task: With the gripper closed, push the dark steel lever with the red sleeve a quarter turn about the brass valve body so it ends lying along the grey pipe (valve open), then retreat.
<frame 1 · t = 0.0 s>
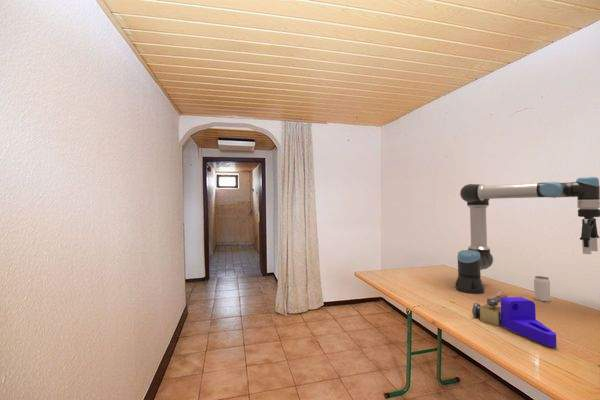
hand: (590, 252, 131), 28 cm above the table, fingers open, 13 cm apart
lever: (497, 299, 123), point 9 cm above the table, hinge at 0.0°
bracket: (532, 335, 106), on the table, touching valve
valve: (492, 321, 120), on the table
can: (542, 300, 146), on the table
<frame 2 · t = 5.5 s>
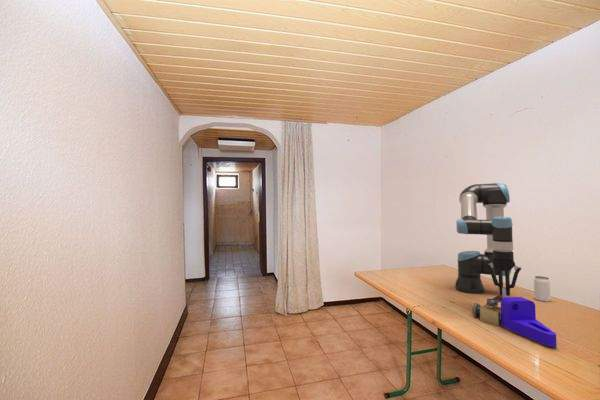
hand: (505, 302, 123), 7 cm above the table, fingers closed
lever: (497, 299, 123), point 8 cm above the table, hinge at 1.0°, touching gripper
everything else where it was.
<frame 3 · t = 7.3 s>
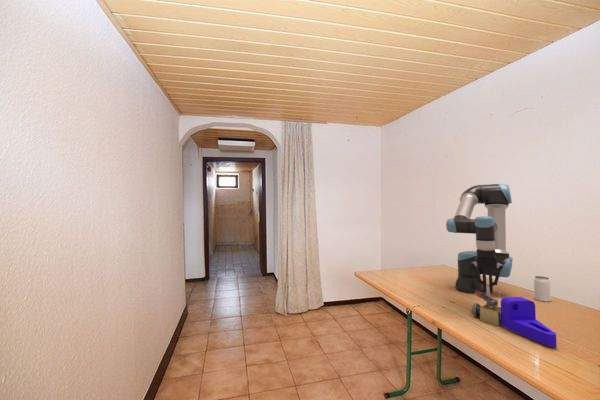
hand: (488, 299, 127), 7 cm above the table, fingers closed
lever: (485, 297, 125), point 9 cm above the table, hinge at 46.7°, touching gripper
everything else where it was.
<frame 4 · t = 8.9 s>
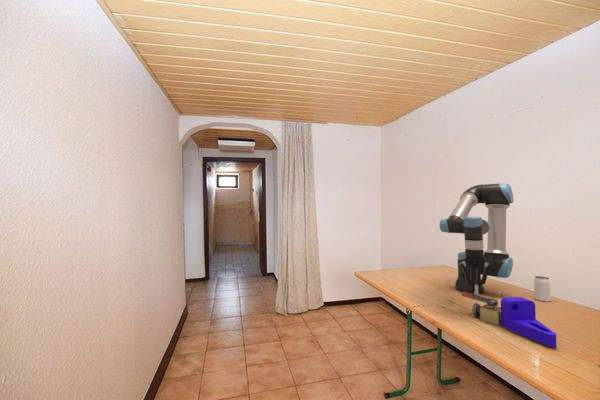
hand: (476, 298, 129), 7 cm above the table, fingers closed
lever: (479, 298, 125), point 9 cm above the table, hinge at 82.0°, touching gripper
everything else where it was.
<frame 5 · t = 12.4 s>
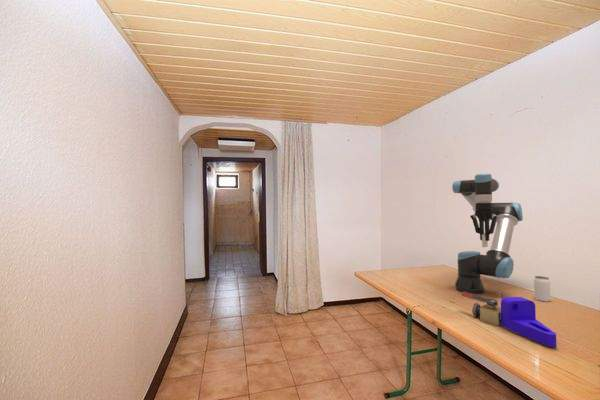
hand: (484, 246, 144), 29 cm above the table, fingers closed
lever: (479, 298, 125), point 8 cm above the table, hinge at 82.0°
everything else where it was.
at the end: lever at +82° (first picture: +0°); the gripper is holding nothing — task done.
